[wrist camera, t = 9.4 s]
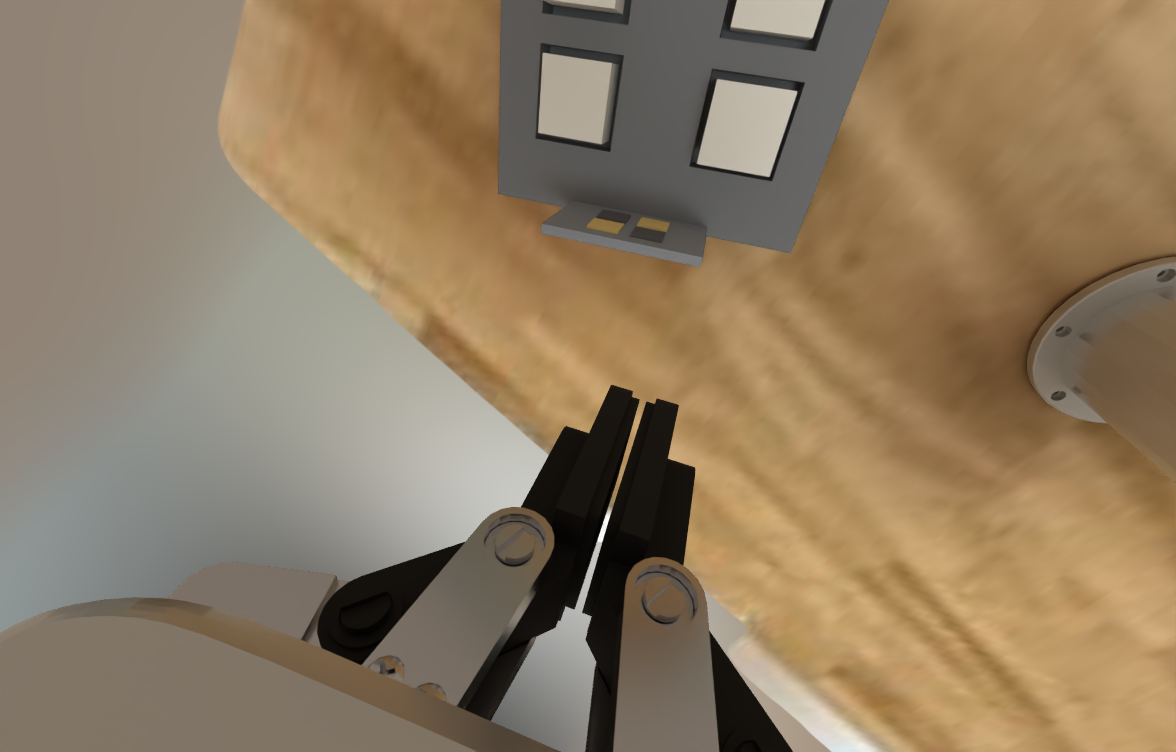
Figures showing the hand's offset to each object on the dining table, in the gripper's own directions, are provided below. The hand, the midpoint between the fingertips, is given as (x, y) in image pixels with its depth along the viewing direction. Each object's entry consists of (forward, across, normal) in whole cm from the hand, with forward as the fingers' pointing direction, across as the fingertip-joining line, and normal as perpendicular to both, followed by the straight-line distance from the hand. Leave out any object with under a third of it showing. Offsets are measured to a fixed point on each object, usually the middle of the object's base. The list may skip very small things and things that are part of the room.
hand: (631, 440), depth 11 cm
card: (+25, +5, +1) cm, 26 cm away
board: (+28, +5, -8) cm, 30 cm away
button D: (+26, +10, -5) cm, 29 cm away
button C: (+26, -1, -6) cm, 26 cm away
